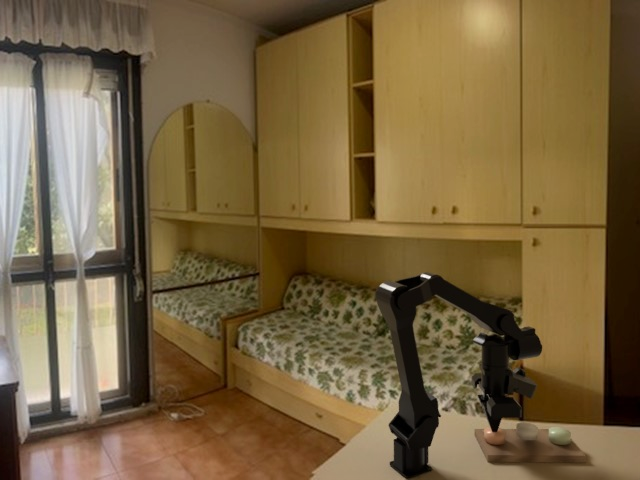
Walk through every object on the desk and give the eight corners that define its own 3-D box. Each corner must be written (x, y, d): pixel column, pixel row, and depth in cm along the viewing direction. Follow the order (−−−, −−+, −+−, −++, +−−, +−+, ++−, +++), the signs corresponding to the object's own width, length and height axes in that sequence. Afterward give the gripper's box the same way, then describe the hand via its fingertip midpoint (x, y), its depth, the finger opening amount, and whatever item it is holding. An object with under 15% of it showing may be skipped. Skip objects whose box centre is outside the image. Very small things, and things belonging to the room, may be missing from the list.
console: (487, 461, 112) (487, 454, 112) (474, 435, 124) (474, 428, 124) (585, 462, 111) (585, 454, 111) (562, 435, 123) (562, 428, 122)
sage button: (552, 444, 115) (553, 436, 114) (545, 435, 119) (545, 426, 119) (573, 444, 114) (574, 436, 114) (565, 435, 119) (565, 426, 118)
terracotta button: (486, 444, 115) (487, 435, 115) (482, 435, 120) (482, 426, 120) (507, 444, 115) (507, 435, 115) (501, 435, 120) (501, 426, 119)
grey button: (519, 440, 115) (520, 431, 115) (513, 430, 119) (513, 422, 119) (540, 440, 115) (540, 431, 114) (533, 430, 119) (533, 422, 119)
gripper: (548, 378, 106) (547, 452, 107) (519, 349, 124) (518, 413, 126) (492, 378, 107) (491, 452, 108) (471, 349, 125) (470, 413, 127)
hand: (494, 431), depth 117 cm, fingers closed, pressing on terracotta button
